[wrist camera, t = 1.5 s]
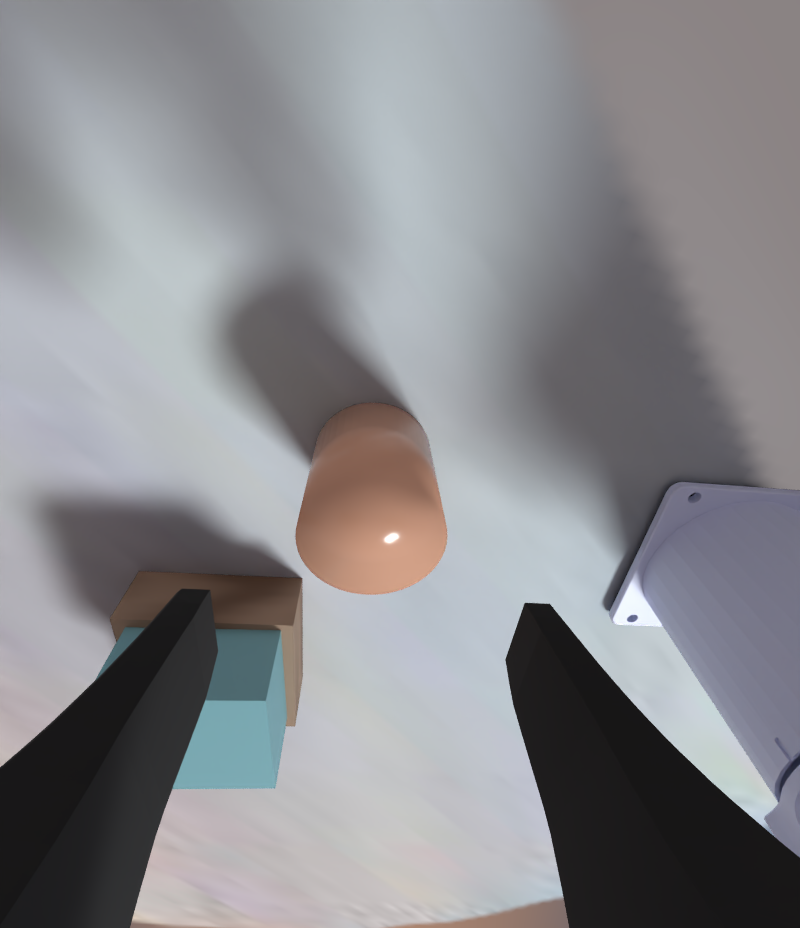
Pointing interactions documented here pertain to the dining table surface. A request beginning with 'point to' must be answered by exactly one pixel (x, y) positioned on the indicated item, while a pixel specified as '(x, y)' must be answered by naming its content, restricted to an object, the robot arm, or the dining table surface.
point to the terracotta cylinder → (371, 502)
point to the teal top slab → (235, 713)
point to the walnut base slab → (228, 612)
